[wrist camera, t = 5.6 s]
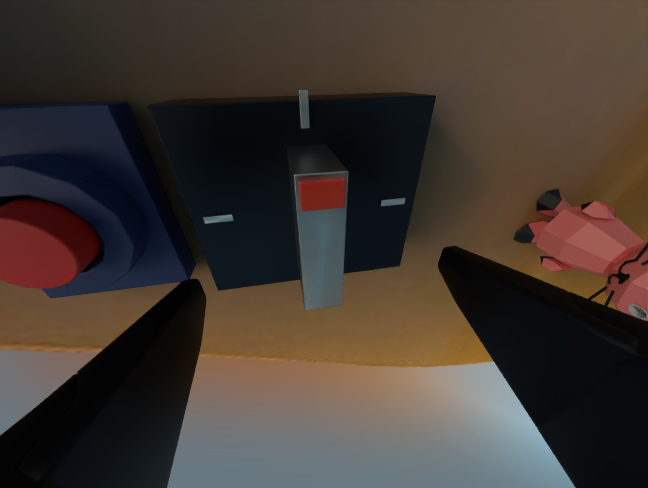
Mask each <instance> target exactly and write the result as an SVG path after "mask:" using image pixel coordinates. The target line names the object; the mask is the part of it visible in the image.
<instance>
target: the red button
mask: <svg viewBox="0 0 648 488" xmlns="http://www.w3.org/2000/svg"><path fill="white" fill-rule="evenodd" d="M99 251H100V239H99V236H98V234H97V232H96V231H95V229H94V228H93V227H92V225H91V224H90V223H89V222H88V221H86V220H85V219H83V218H82V217H80V216H79V215H77V214H76V213H74V212H73V211H71V210H70V209H68V208H66V207H64V206H61V205H59V204H56V203H52V202H48V201H44V200H37V199H22V200H16V201H12V202H9V203H7V204H5V205H3V206H1V207H0V280H1V281H4V282H7V283H10V284H14V285H18V286H22V287H28V288H54V287H59V286H62V285H65V284H67V283H69V282H71V281H72V280H73V279H75V278H76V277H77V276H78V275H79V274H80V273H81V272H82V271H83V270H84V269H85V268H86V267H87V266H88V265H89V264H90V262H91V261H92V260H93V259H94V258H95V257H96V256H97V255H98V253H99Z"/></svg>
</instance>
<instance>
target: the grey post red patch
mask: <svg viewBox="0 0 648 488" xmlns="http://www.w3.org/2000/svg"><path fill="white" fill-rule="evenodd" d="M287 151H288V162H289V173H290V184H291V194H292V205H293V216H294V227H295V238H296V249H297V260H298V267H299V274H300V281H301V288H302V295H303V302H304V309H305V311H306V310H313V309H320V308H327V307H334V306H340V305H342V291H343V271H344V251H345V232H346V212H347V192H348V170H347V169H346V168H345V167H344V165H343V164H342V163H341V162H340V161H339V159H338V158H337V157H336V156H335V155H334V153H333V152H332V151H331V150H330V149H329V147H328V146H327V145H326V144H319V145H299V146H287Z"/></svg>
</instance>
